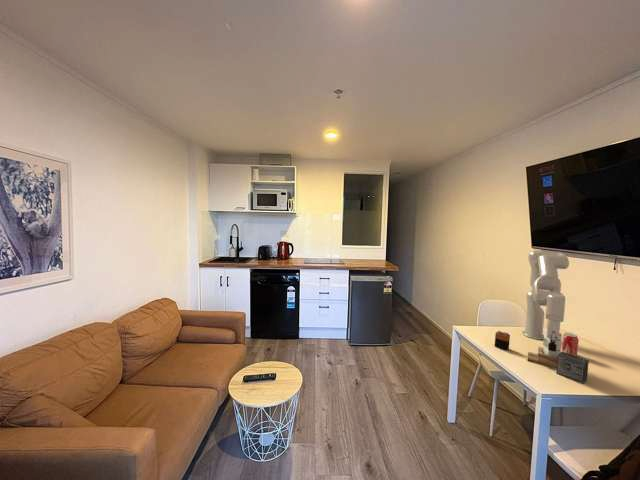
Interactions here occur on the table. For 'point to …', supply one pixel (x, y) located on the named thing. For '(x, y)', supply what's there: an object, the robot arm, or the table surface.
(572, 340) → the soda can
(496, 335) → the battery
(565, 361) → the small box
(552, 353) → the syrup box
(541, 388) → the table surface
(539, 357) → the socket
